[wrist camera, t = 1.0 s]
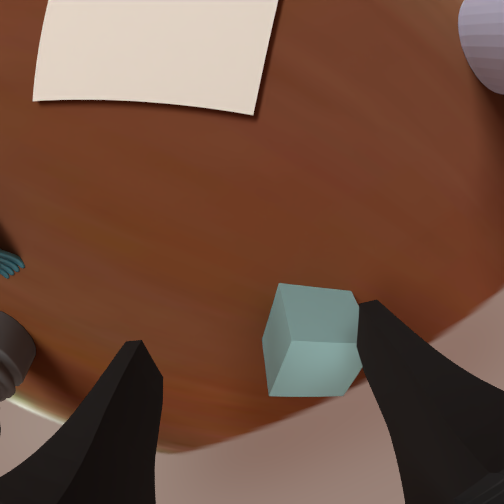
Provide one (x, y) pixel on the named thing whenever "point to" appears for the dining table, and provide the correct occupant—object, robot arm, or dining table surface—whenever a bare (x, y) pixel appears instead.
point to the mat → (155, 51)
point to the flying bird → (9, 263)
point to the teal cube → (311, 342)
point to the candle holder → (13, 355)
